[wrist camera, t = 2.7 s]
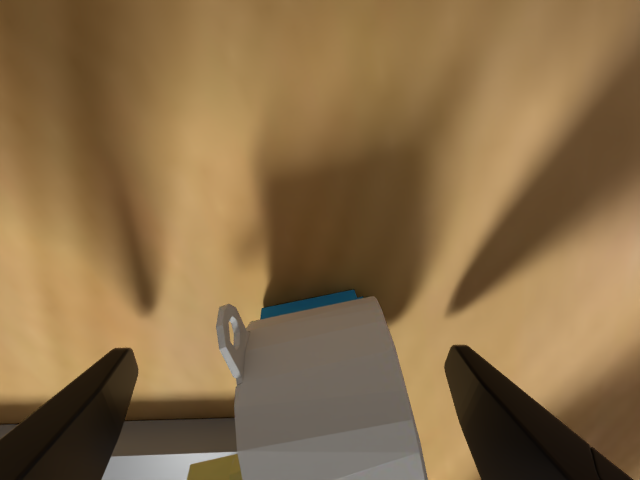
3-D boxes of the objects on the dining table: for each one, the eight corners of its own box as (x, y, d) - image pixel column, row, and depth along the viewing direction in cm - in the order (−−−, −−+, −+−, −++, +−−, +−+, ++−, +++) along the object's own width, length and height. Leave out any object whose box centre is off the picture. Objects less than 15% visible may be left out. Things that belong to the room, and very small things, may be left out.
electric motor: (177, 254, 9) (64, 459, 4) (357, 214, 8) (424, 388, 4) (256, 407, 12) (237, 605, 8) (385, 382, 12) (438, 571, 8)
